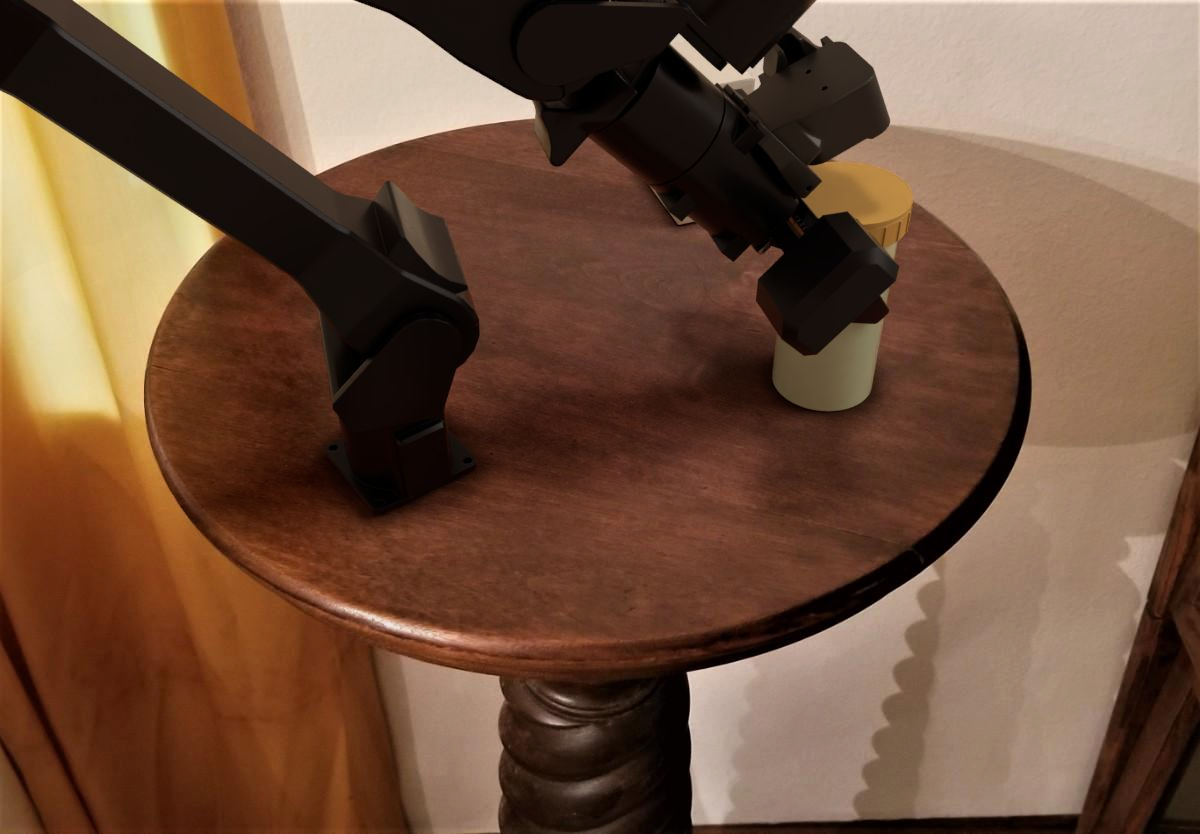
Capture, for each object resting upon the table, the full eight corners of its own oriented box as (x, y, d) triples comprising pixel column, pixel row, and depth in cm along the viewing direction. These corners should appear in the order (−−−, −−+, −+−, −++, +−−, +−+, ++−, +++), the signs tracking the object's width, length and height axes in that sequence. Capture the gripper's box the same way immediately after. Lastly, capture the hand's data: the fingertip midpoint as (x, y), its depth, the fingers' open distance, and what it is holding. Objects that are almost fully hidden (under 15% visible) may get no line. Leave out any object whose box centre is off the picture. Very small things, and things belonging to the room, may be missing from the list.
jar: (751, 374, 70) (767, 192, 62) (822, 338, 73) (847, 160, 65) (820, 425, 66) (848, 239, 58) (893, 386, 69) (928, 203, 61)
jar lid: (755, 212, 63) (757, 185, 62) (845, 176, 66) (848, 149, 65) (843, 267, 59) (847, 239, 58) (935, 225, 62) (941, 198, 61)
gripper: (889, 88, 47) (1062, 272, 56) (729, -58, 61) (889, 109, 70) (698, 281, 50) (890, 424, 60) (588, 101, 64) (758, 240, 73)
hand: (857, 285), depth 66 cm, fingers closed on jar, 6 cm apart
